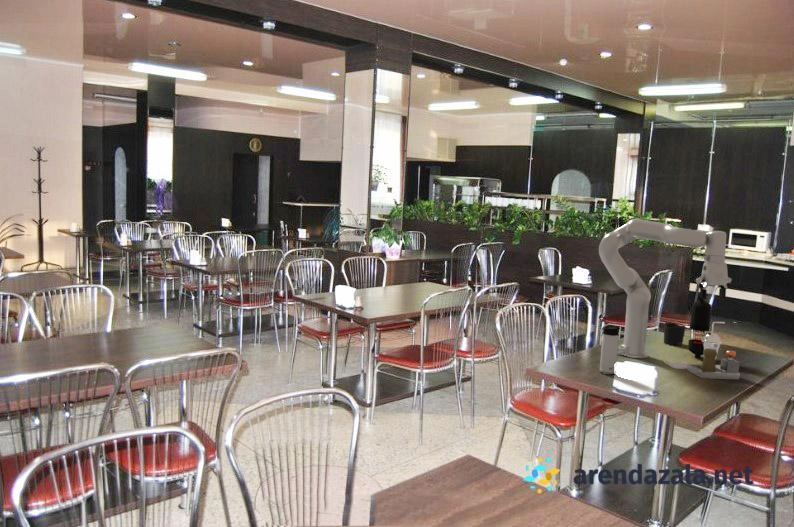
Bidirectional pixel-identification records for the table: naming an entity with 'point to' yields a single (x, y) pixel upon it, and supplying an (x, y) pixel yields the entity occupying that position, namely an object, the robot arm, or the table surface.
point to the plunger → (730, 354)
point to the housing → (718, 370)
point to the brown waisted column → (709, 360)
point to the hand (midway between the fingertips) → (712, 297)
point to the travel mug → (609, 349)
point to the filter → (699, 325)
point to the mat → (677, 364)
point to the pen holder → (673, 334)
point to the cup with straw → (712, 340)
